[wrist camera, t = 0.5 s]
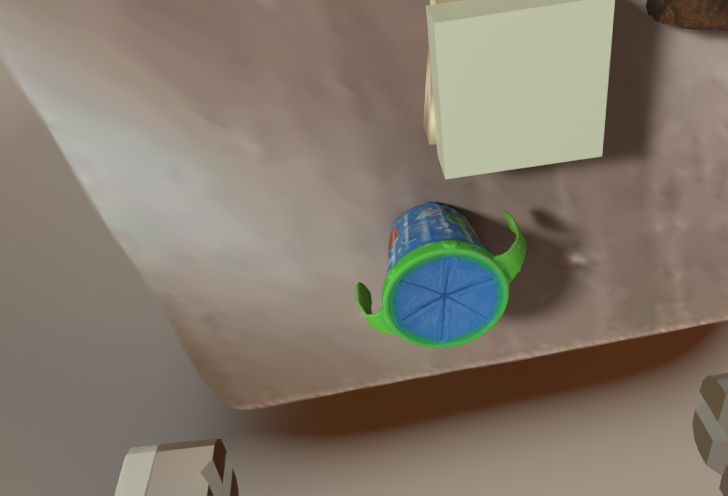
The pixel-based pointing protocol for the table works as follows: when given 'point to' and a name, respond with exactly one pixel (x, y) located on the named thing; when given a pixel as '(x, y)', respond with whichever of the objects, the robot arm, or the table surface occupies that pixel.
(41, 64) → the table surface
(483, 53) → the upper slab
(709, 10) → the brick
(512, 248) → the snack cup
